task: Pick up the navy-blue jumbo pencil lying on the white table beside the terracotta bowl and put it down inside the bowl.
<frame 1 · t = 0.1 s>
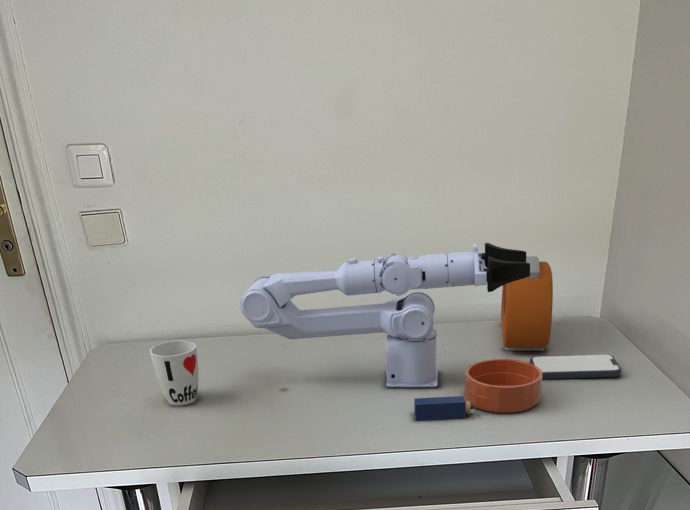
hand: (528, 263, 125), 22 cm above the table, tool horizontal, fingers open, 7 cm apart
bowl: (501, 398, 130), on the table
cup: (182, 400, 135), on the table
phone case: (573, 371, 140), on the table
alarm clock: (522, 338, 157), on the table
pencil: (439, 416, 125), on the table
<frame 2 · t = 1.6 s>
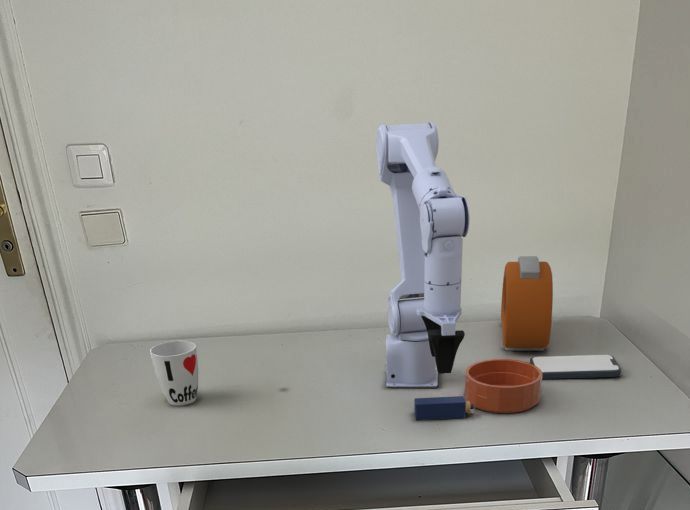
hand: (441, 364, 120), 9 cm above the table, tool pointing down, fingers open, 7 cm apart
nothing on the table moved.
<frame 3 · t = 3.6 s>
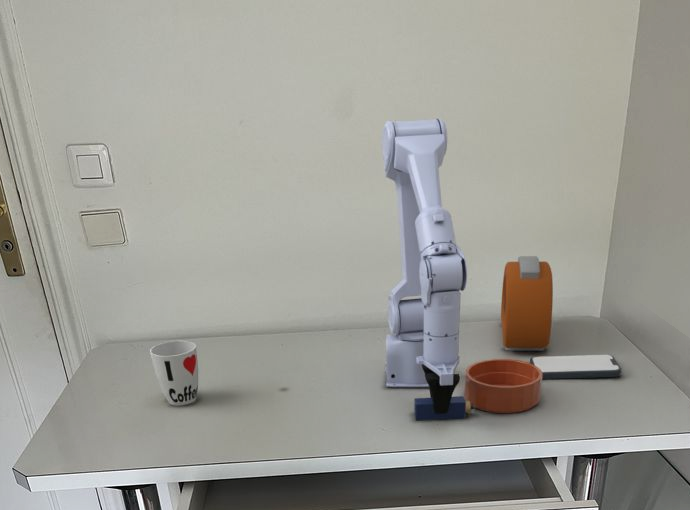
hand: (439, 408, 124), 1 cm above the table, tool pointing down, fingers closed on pencil, 2 cm apart
pencil: (439, 416, 125), on the table, touching gripper
everything else where it was.
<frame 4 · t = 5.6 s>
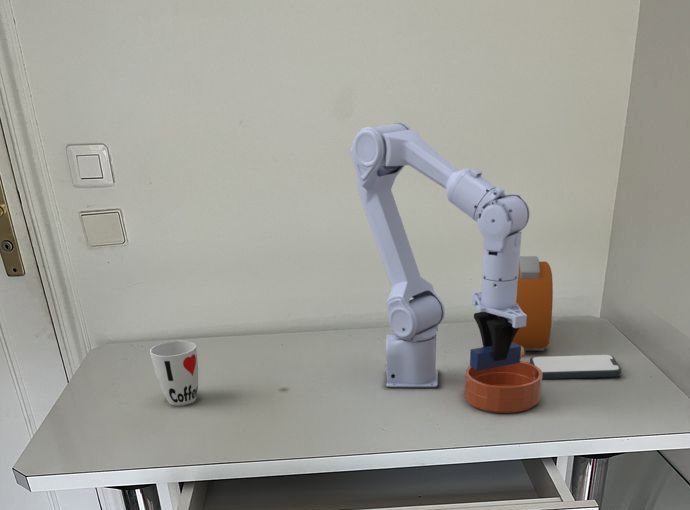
hand: (495, 356, 125), 8 cm above the table, tool pointing down, fingers closed on pencil, 2 cm apart
pencil: (494, 364, 126), point 7 cm above the table, touching gripper
everything else where it was.
when the fingers open (2 cm above the table, at t = 7.5 s): pencil stays where it is, resting on bowl.
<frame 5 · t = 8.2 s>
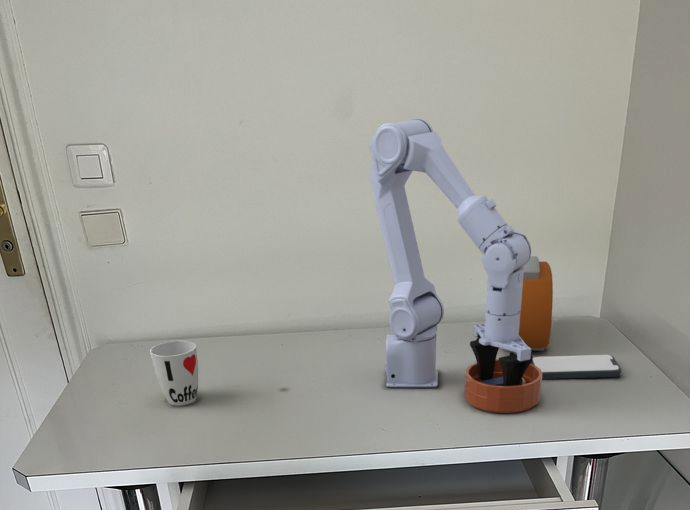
hand: (498, 386, 129), 2 cm above the table, tool pointing down, fingers open, 7 cm apart
pencil: (497, 396, 130), point 1 cm above the table, touching bowl
everything else where it was.
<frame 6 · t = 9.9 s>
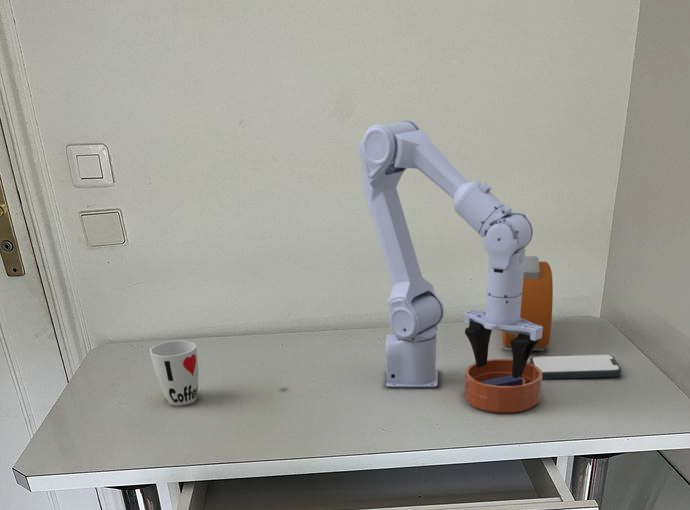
hand: (499, 370, 127), 5 cm above the table, tool pointing down, fingers open, 7 cm apart
nothing on the table moved.
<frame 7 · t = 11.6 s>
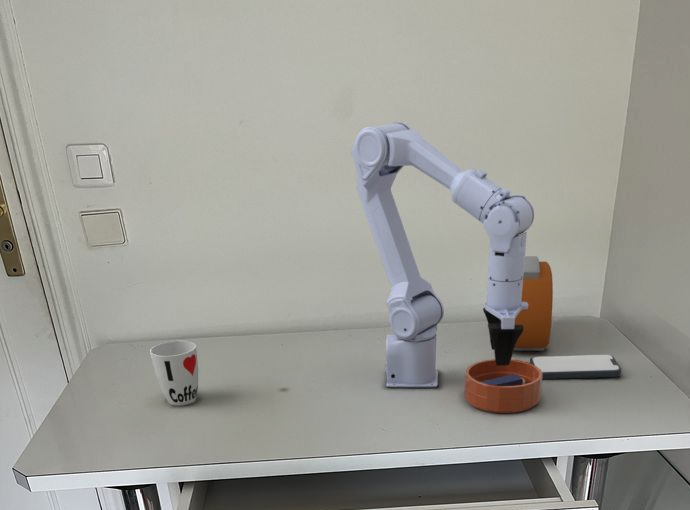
hand: (500, 356, 126), 8 cm above the table, tool pointing down, fingers open, 7 cm apart
nothing on the table moved.
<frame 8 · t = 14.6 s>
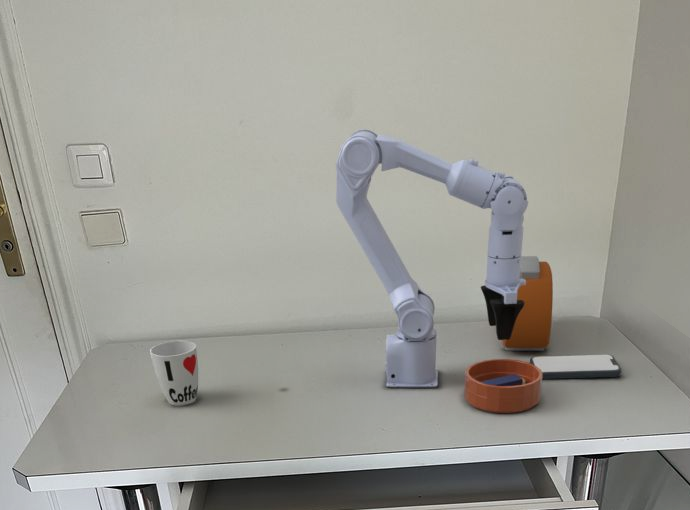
hand: (499, 332, 132), 9 cm above the table, tool pointing down, fingers open, 7 cm apart
nothing on the table moved.
at the end: pencil inside the target area in the bowl (0.7 cm from its centre), point 0.5 cm above the bowl's base; the gripper is holding nothing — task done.
